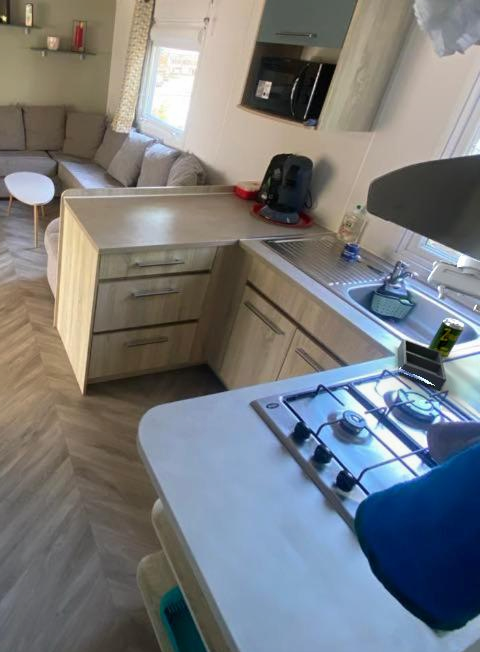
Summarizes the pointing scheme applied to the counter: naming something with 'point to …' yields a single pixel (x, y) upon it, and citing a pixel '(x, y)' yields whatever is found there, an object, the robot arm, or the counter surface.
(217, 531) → the counter surface
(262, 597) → the counter surface
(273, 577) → the counter surface
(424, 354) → the caddy
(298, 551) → the counter surface
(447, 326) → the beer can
